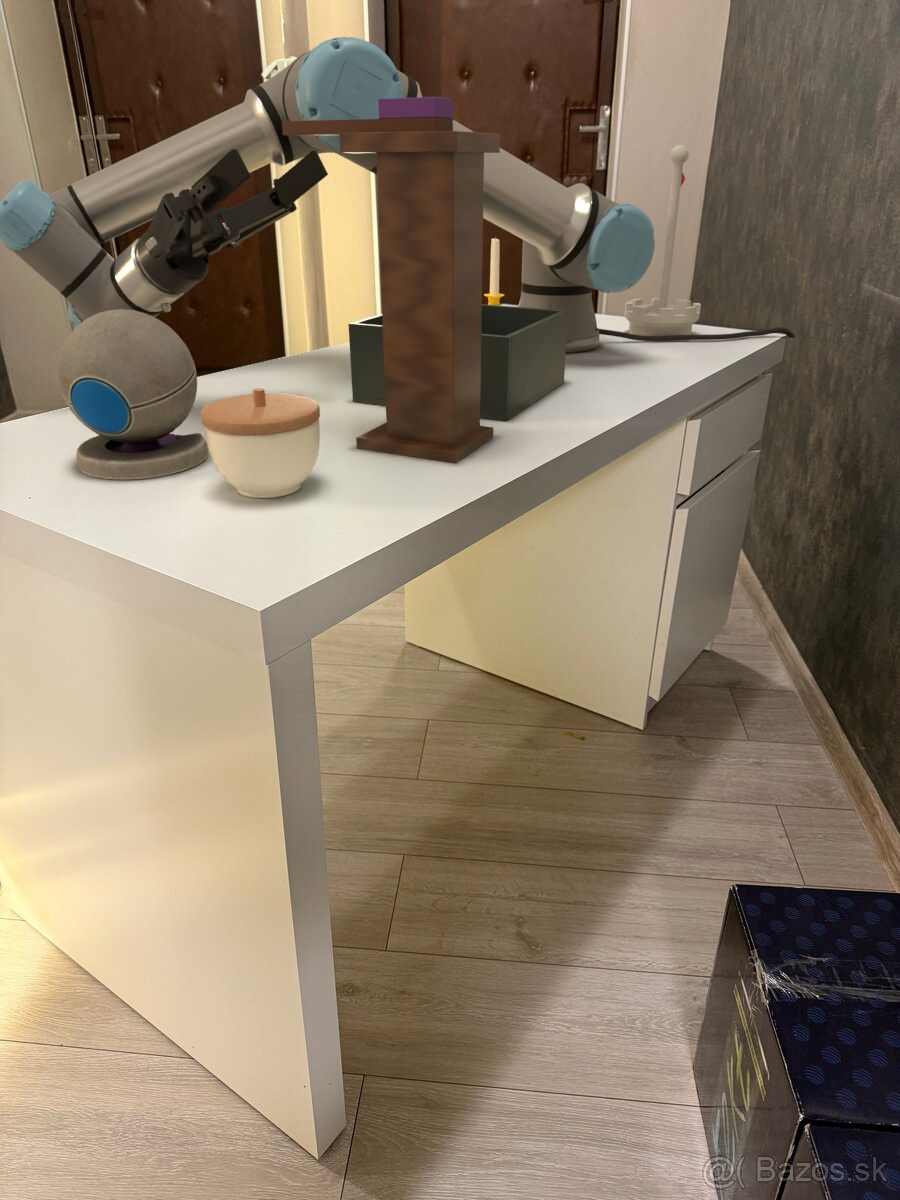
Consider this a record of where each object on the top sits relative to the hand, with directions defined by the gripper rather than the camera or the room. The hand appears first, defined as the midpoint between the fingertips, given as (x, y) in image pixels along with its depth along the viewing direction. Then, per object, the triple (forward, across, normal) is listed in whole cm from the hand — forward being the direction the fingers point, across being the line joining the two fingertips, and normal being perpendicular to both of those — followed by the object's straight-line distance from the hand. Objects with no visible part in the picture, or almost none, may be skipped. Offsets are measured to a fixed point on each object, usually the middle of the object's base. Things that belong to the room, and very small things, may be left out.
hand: (283, 162), depth 85 cm
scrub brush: (+10, 0, -3) cm, 10 cm away
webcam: (-21, +18, -20) cm, 34 cm away
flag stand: (+7, -76, -36) cm, 85 cm away
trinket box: (-6, +19, -28) cm, 35 cm away
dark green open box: (-5, -23, -29) cm, 37 cm away
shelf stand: (0, 0, -32) cm, 32 cm away
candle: (-20, -73, -21) cm, 79 cm away
